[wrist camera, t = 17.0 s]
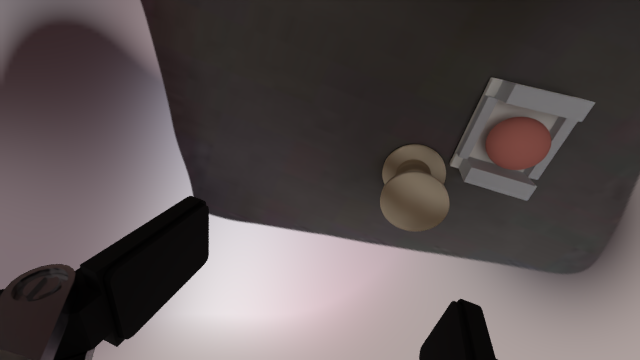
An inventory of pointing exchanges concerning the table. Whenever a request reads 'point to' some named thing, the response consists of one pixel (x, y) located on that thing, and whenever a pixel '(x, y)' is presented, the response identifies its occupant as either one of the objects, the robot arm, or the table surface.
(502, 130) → the bead
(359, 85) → the table surface
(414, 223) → the bobbin
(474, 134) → the grey u-shaped holder
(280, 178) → the table surface
